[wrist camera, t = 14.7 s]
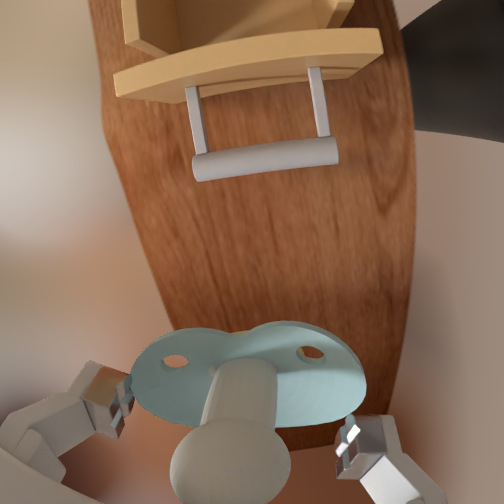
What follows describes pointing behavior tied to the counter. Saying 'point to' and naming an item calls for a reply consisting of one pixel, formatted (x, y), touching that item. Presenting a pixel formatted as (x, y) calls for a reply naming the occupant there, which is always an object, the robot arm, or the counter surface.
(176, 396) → the pacifier
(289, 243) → the counter surface
